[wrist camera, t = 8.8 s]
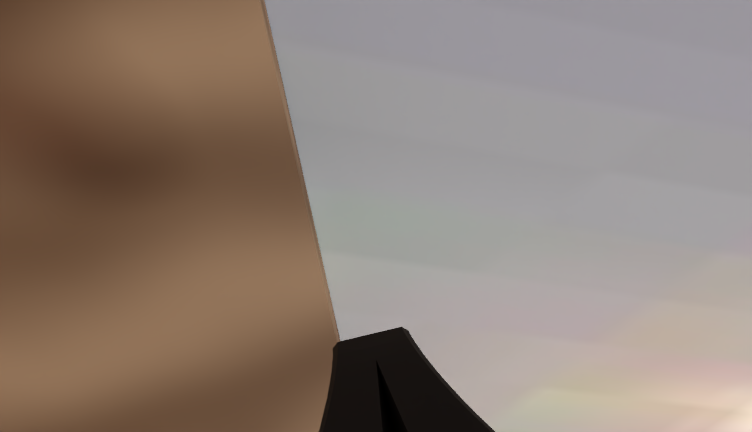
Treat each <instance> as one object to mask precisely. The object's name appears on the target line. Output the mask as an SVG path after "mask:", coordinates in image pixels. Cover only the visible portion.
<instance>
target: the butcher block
mask: <svg viewBox="0 0 752 432" xmlns="http://www.w3.org/2000/svg"><path fill="white" fill-rule="evenodd" d="M337 342H340V338H339V333H338V329H337V324H336V320H335V316H334V311H333V307H332V302H331V298H330V293H329V289H328V284H327V280H326V275H325V271H324V266H323V262H322V257H321V253H320V248H319V244H318V239H317V235H316V230H315V226H314V221H313V217H312V212H311V208H310V203H309V199H308V194H307V190H306V185H305V181H304V177H303V172H302V168H301V163H300V159H299V154H298V150H297V145H296V141H295V136H294V132H293V127H292V123H291V118H290V114H289V109H288V105H287V100H286V96H285V91H284V87H283V82H282V78H281V73H280V69H279V64H278V60H277V55H276V51H275V46H274V42H273V37H272V33H271V29H270V24H269V20H268V15H267V11H266V6H265V2H264V0H0V432H319V429H320V425H321V421H322V417H323V413H324V408H325V404H326V400H327V395H328V390H329V384H330V378H331V371H332V360H333V347H334V346H335V345H336V343H337Z"/></svg>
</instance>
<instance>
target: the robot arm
mask: <svg viewBox="0 0 752 432" xmlns="http://www.w3.org/2000/svg"><path fill="white" fill-rule="evenodd" d="M319 432H495V431H494V430H493V429H492V428H491V427H490V426H489V425H488V424H487V423H485V422H484V421H483V420H482V419H481V418H480V417H479V416H478V415H477V414H476V413H475V412H474V411H473V410H472V409H471V408H470V407H469V406H468V405H467V404H466V403H465V402H464V401H463V400H462V399H461V398H460V396H459V395H458V394H457V393H456V392H455V391H454V390H453V389H452V388H451V387H450V386H449V385H448V383H447V382H446V381H445V380H444V379H443V378H442V377H441V375H440V374H439V373H438V372H437V371H436V370H435V368H434V367H433V366H432V365H431V363H430V362H429V361H428V360H427V358H426V357H425V356H424V354H423V353H422V352H421V350H420V349H419V347H418V346H417V345H416V343H415V341H414V340H413V338H412V337H411V335H410V333H409V331H408V330H406V329H404V328H403V327H399V328H395V329H391V330H386V331H382V332H378V333H374V334H370V335H365V336H361V337H357V338H353V339H349V340H344V341H340V342H337V343H336V345H335V346H334V347H333V360H332V371H331V378H330V384H329V390H328V395H327V400H326V404H325V408H324V413H323V417H322V421H321V425H320V429H319Z"/></svg>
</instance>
